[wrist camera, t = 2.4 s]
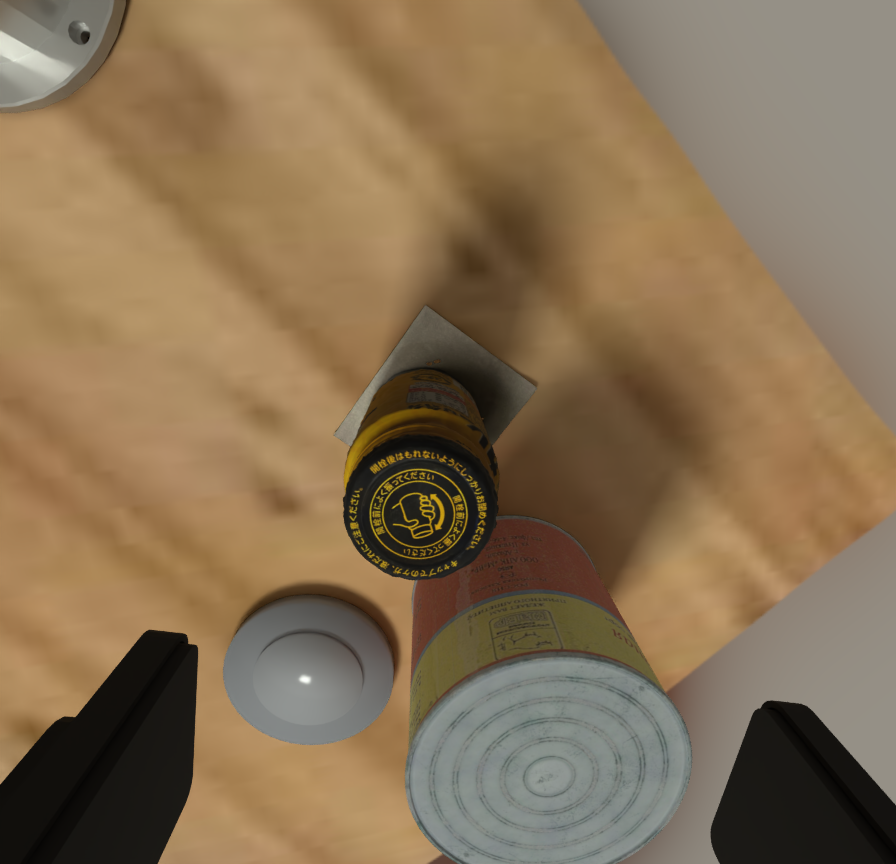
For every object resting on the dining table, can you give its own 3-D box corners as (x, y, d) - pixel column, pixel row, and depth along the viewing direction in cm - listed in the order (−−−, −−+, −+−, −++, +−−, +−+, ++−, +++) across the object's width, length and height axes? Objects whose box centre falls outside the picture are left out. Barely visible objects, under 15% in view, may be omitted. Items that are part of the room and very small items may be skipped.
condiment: (334, 434, 30) (276, 537, 18) (425, 304, 28) (425, 327, 16) (443, 506, 31) (453, 644, 20) (536, 386, 29) (608, 461, 18)
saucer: (233, 585, 32) (225, 598, 31) (404, 604, 33) (403, 617, 31) (225, 724, 34) (217, 740, 33) (383, 738, 35) (382, 755, 34)
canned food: (543, 702, 35) (601, 913, 24) (381, 641, 33) (358, 837, 22) (633, 559, 32) (748, 717, 21) (463, 484, 31) (486, 612, 19)
